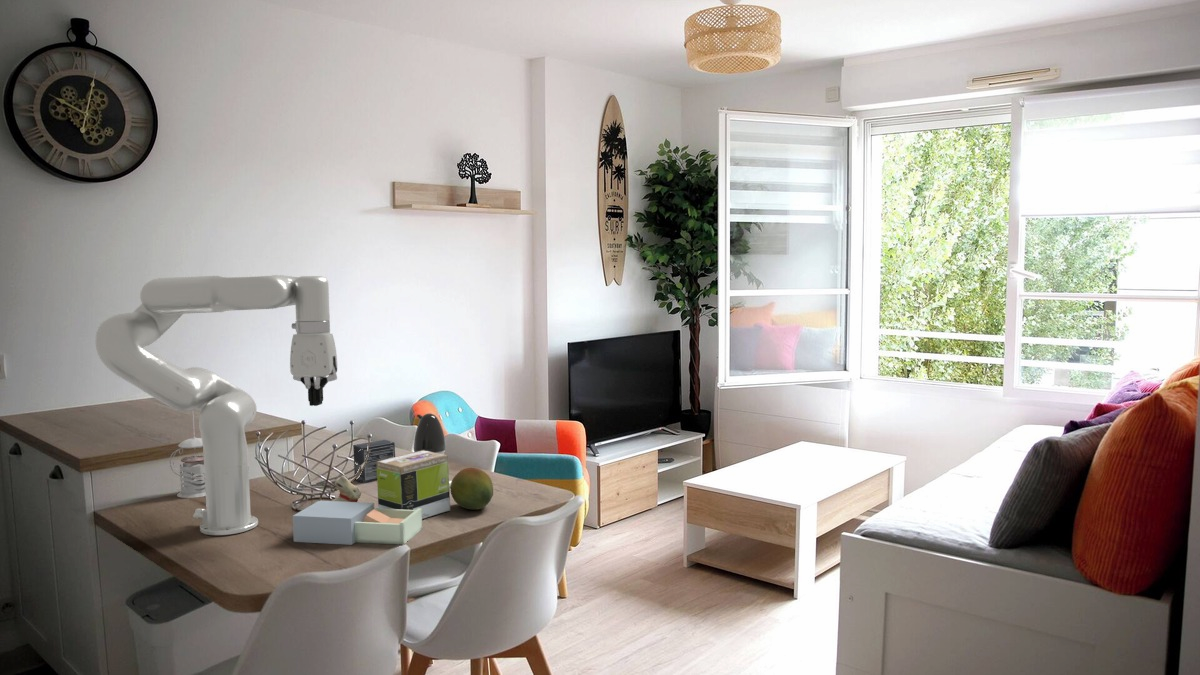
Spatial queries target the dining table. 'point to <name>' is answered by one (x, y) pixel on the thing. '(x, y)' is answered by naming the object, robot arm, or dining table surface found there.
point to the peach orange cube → (394, 520)
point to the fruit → (472, 488)
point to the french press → (191, 470)
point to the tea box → (414, 483)
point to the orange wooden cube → (376, 517)
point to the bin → (390, 527)
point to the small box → (372, 458)
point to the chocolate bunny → (347, 491)
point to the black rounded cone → (429, 435)
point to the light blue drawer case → (329, 522)
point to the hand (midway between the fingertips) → (315, 404)
